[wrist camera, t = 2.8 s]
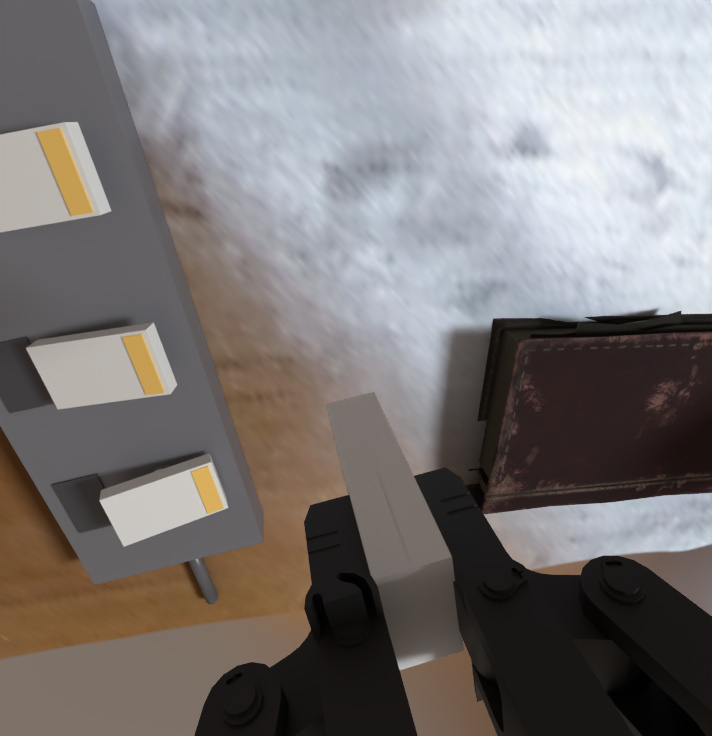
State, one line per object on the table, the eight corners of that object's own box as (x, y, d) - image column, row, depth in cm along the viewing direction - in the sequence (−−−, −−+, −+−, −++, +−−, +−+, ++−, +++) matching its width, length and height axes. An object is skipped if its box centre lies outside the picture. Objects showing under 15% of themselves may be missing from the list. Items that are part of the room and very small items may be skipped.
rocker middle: (42, 336, 31) (24, 348, 29) (156, 319, 30) (145, 330, 28) (72, 395, 33) (56, 410, 31) (180, 381, 32) (170, 395, 30)
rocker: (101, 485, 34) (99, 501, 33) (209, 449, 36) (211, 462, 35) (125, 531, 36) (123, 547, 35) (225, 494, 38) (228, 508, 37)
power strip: (-175, 45, 26) (-243, 31, 22) (94, 3, 27) (69, -17, 23) (142, 615, 47) (132, 653, 43) (284, 578, 48) (286, 612, 44)
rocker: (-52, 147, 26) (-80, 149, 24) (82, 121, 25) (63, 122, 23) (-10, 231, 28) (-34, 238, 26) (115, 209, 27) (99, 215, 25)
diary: (682, 468, 52) (721, 500, 48) (461, 487, 48) (481, 524, 43) (751, 302, 44) (806, 322, 39) (493, 307, 40) (522, 330, 35)
